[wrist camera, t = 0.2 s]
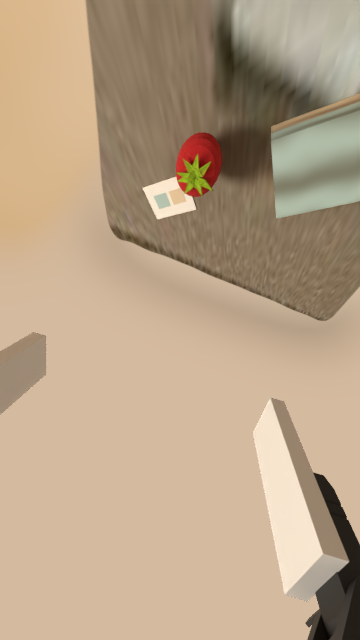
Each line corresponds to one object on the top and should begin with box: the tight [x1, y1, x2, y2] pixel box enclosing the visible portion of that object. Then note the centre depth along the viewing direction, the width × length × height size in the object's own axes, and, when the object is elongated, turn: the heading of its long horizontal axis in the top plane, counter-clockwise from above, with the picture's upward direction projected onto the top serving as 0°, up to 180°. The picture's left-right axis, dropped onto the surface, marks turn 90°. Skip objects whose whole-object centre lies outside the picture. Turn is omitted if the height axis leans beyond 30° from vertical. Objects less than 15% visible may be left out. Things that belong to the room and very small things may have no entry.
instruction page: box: [143, 177, 196, 219], centre depth 41 cm, size 6×8×1 cm
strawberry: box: [176, 133, 222, 197], centre depth 31 cm, size 6×8×10 cm
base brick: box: [271, 94, 360, 218], centre depth 30 cm, size 10×10×5 cm
